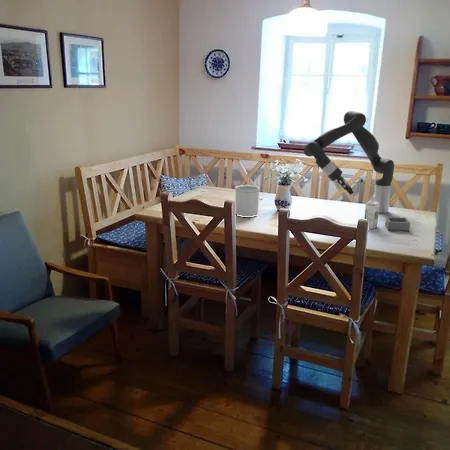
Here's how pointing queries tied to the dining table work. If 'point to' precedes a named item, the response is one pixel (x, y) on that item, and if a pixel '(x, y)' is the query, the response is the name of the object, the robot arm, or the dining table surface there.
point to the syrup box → (372, 213)
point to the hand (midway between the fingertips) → (351, 191)
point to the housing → (397, 224)
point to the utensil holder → (247, 200)
